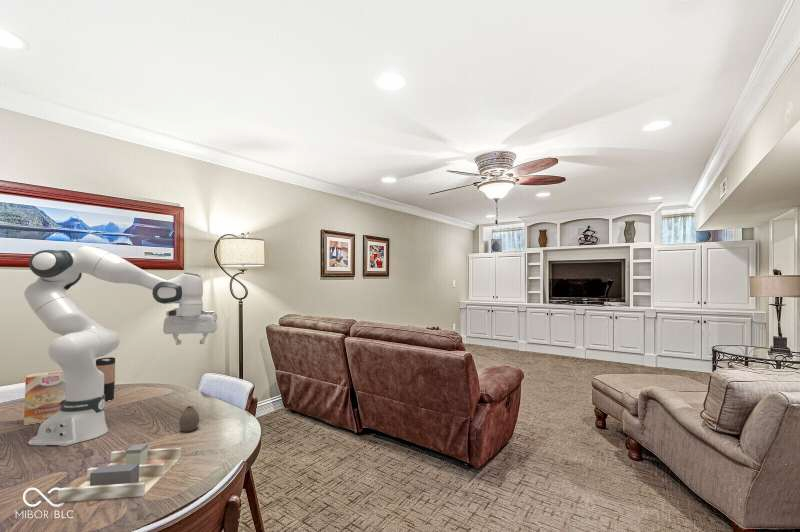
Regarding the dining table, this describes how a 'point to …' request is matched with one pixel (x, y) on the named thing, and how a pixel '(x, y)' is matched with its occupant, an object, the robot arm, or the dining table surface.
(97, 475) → the charcoal block
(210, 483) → the dining table surface
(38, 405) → the coffeecake box
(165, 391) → the dining table surface
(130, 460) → the grey rectangular block
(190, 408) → the vase
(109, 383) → the travel mug
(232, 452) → the dining table surface
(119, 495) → the rack
